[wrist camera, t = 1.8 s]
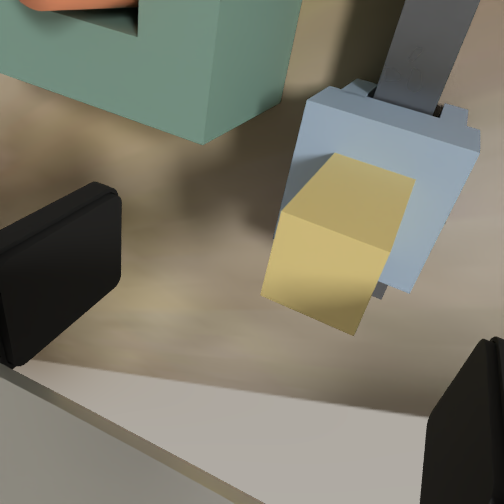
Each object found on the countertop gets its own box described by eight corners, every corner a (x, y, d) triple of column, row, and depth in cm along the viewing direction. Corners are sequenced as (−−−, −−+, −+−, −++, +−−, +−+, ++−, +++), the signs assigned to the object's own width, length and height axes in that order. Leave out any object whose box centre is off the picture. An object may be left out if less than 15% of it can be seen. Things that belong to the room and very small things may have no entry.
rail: (632, -277, 13) (698, -394, 9) (397, 248, 24) (381, 299, 20) (479, -287, 14) (478, -396, 10) (321, 219, 25) (290, 262, 21)
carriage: (480, 113, 19) (479, 223, 10) (424, 230, 22) (386, 391, 13) (346, 75, 20) (240, 140, 11) (313, 190, 24) (211, 311, 15)
